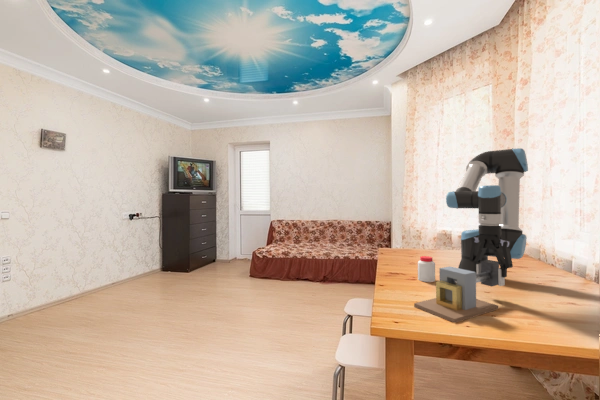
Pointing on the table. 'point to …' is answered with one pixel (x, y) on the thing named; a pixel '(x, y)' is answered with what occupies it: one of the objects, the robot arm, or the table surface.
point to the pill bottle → (426, 269)
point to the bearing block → (469, 301)
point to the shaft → (486, 273)
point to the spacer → (455, 295)
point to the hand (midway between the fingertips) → (490, 282)
